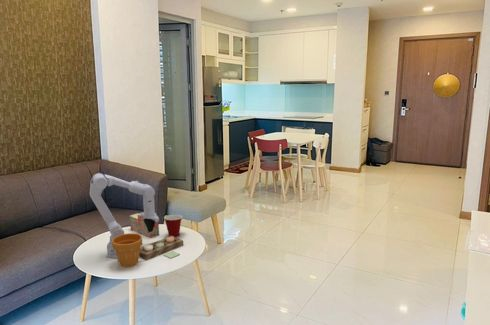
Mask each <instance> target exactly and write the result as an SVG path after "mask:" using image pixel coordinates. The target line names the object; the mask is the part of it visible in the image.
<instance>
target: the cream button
mask: <svg viewBox="0 0 490 325" xmlns="http://www.w3.org/2000/svg"><path fill="white" fill-rule="evenodd" d="M143 246H144V251H146V252H149V251H152V250H153V245H148V244H146V245H143Z"/></svg>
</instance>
